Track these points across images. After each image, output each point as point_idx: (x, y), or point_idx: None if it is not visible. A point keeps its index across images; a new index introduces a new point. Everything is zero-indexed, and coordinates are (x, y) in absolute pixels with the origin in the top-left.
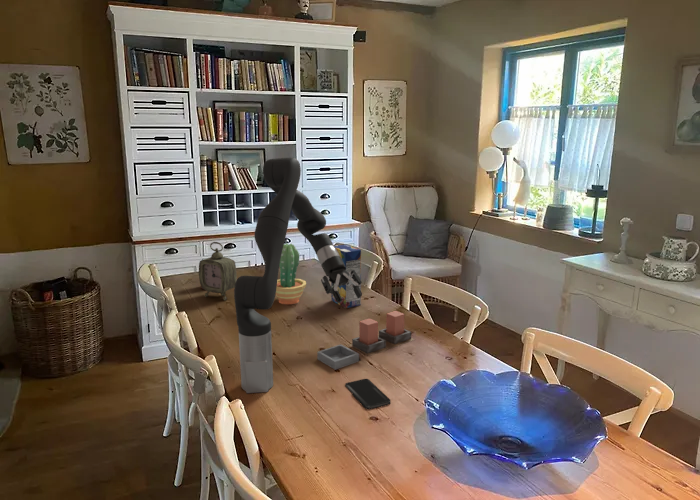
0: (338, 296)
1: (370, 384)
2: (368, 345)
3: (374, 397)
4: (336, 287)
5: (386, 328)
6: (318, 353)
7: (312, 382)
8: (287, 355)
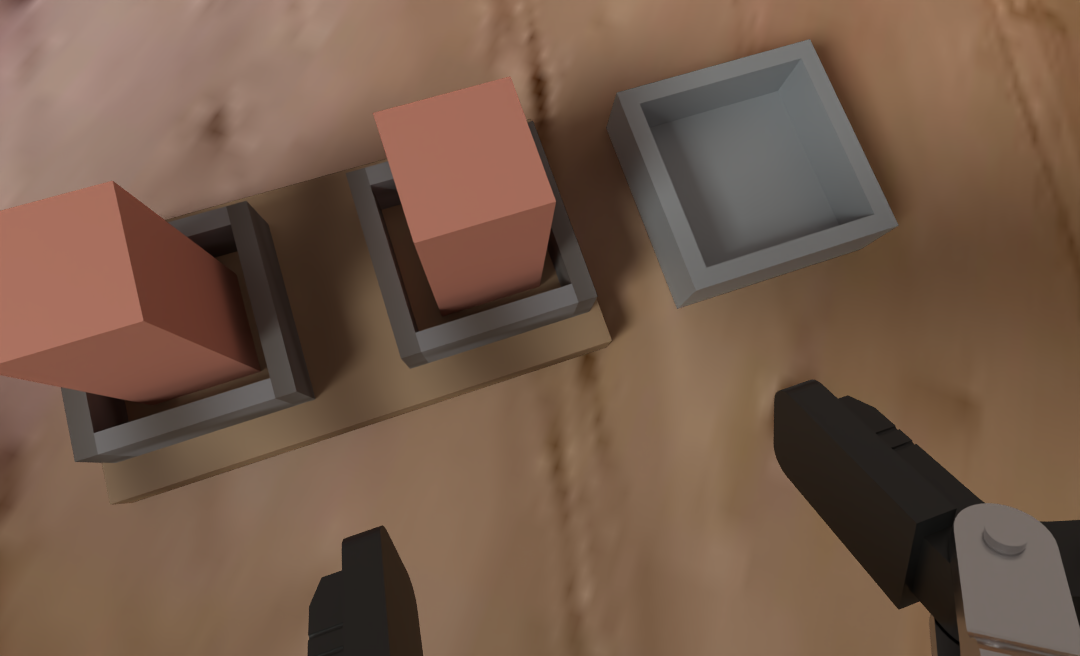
0: (867, 440)
1: None
2: None
3: None
4: (995, 594)
5: (225, 353)
6: (887, 214)
7: (934, 2)
8: (1051, 396)
